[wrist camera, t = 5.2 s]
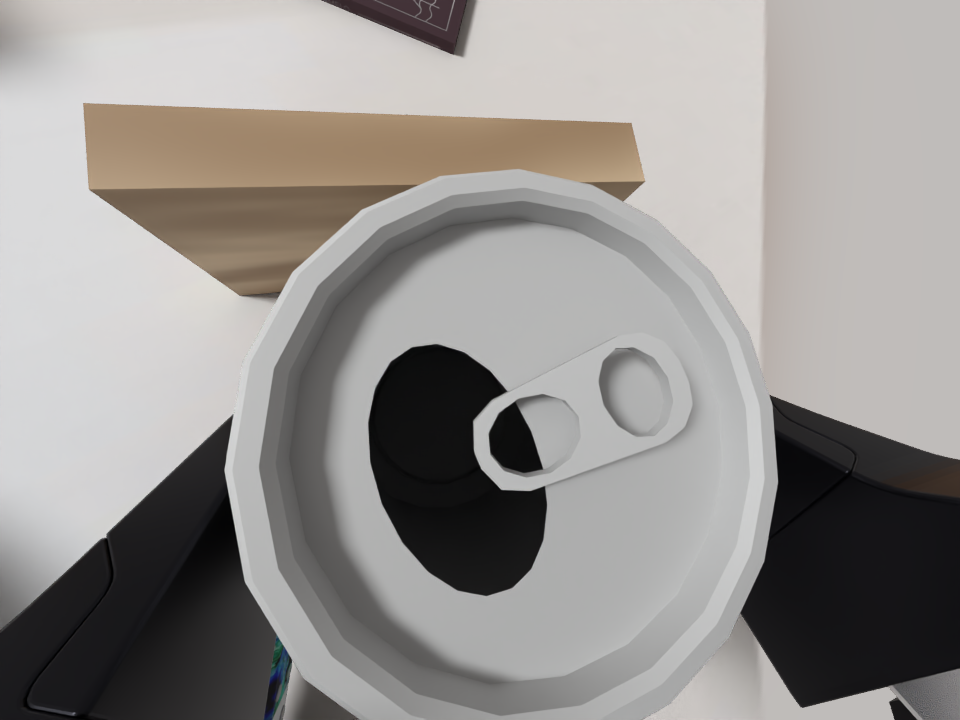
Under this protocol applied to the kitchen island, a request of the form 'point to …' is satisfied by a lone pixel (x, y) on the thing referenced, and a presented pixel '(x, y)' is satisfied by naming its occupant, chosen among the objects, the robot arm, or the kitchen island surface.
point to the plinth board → (312, 173)
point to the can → (502, 457)
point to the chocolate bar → (413, 18)
